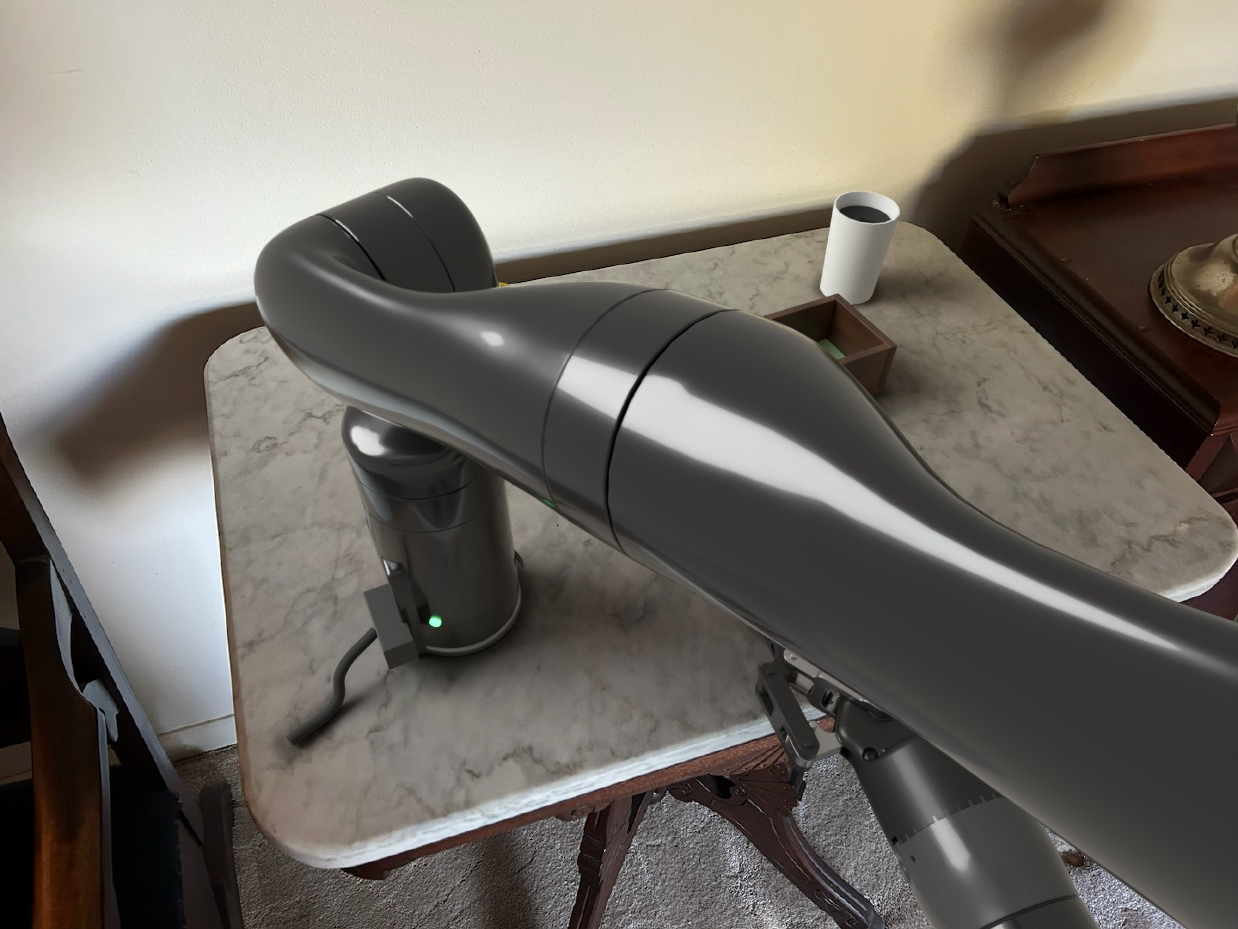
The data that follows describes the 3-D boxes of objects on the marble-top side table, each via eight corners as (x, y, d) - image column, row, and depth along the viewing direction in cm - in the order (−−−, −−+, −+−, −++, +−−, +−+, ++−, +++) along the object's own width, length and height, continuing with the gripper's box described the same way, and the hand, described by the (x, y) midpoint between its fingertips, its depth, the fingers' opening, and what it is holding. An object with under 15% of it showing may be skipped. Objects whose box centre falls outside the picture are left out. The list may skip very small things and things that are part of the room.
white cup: (882, 307, 91) (906, 224, 84) (820, 306, 91) (839, 223, 84) (870, 272, 96) (892, 191, 88) (811, 271, 96) (829, 189, 88)
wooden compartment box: (728, 447, 76) (736, 400, 72) (679, 387, 82) (683, 339, 77) (882, 392, 82) (897, 345, 77) (826, 339, 87) (838, 292, 83)
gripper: (1108, 769, 43) (941, 531, 54) (858, 848, 40) (734, 580, 51) (1051, 824, 49) (910, 598, 59) (827, 897, 46) (721, 646, 57)
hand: (828, 590), depth 55 cm, fingers open, 8 cm apart
